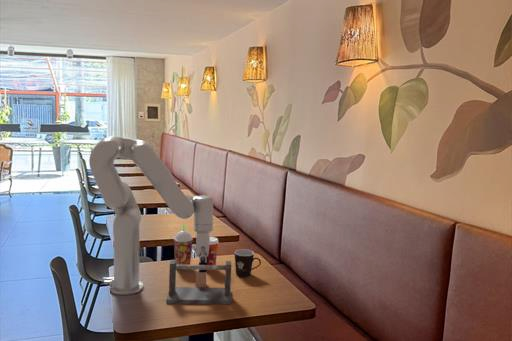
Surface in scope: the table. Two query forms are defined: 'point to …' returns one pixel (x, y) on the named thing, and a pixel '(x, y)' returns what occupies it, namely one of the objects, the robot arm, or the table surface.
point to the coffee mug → (244, 262)
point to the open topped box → (200, 279)
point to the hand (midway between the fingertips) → (203, 267)
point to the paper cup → (212, 251)
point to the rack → (199, 293)
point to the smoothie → (183, 247)
